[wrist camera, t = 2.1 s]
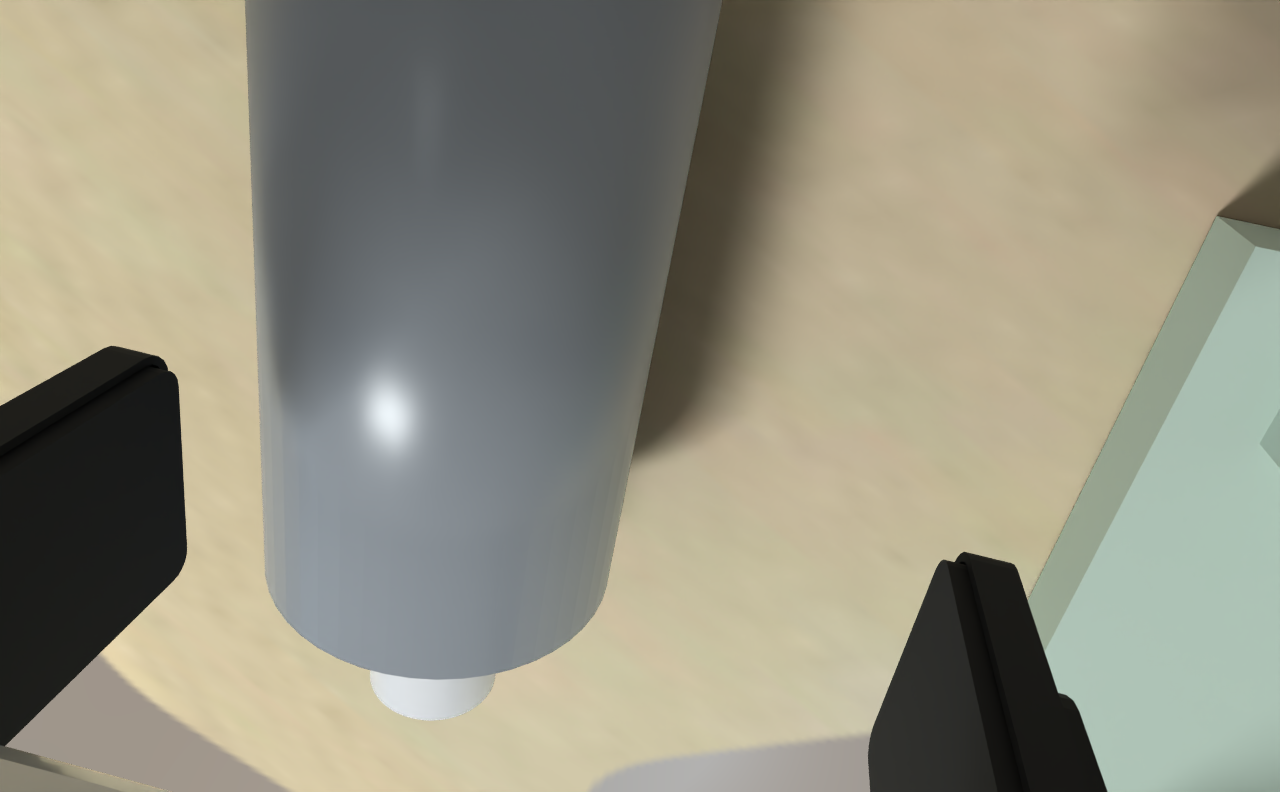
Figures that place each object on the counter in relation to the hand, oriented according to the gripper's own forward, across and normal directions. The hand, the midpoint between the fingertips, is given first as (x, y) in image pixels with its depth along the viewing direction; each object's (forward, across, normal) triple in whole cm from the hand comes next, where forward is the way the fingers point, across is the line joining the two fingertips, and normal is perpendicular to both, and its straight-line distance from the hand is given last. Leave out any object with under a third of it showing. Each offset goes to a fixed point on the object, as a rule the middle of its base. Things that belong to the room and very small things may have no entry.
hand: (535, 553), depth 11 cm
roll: (+6, 0, -1) cm, 6 cm away
